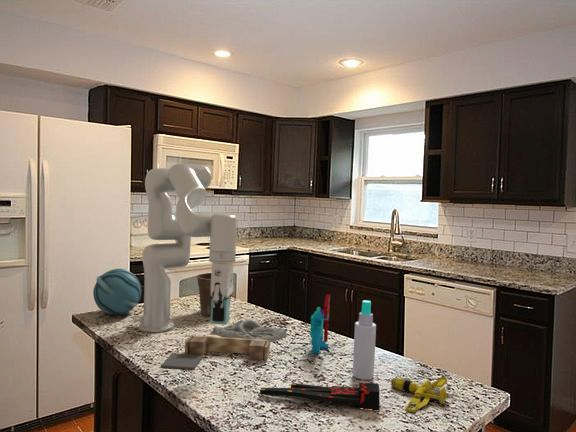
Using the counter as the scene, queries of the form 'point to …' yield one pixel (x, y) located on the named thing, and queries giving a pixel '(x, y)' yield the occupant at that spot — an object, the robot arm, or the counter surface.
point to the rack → (228, 346)
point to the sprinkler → (421, 391)
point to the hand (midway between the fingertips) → (220, 317)
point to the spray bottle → (364, 344)
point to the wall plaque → (250, 331)
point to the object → (206, 293)
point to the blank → (226, 311)
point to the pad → (182, 361)
